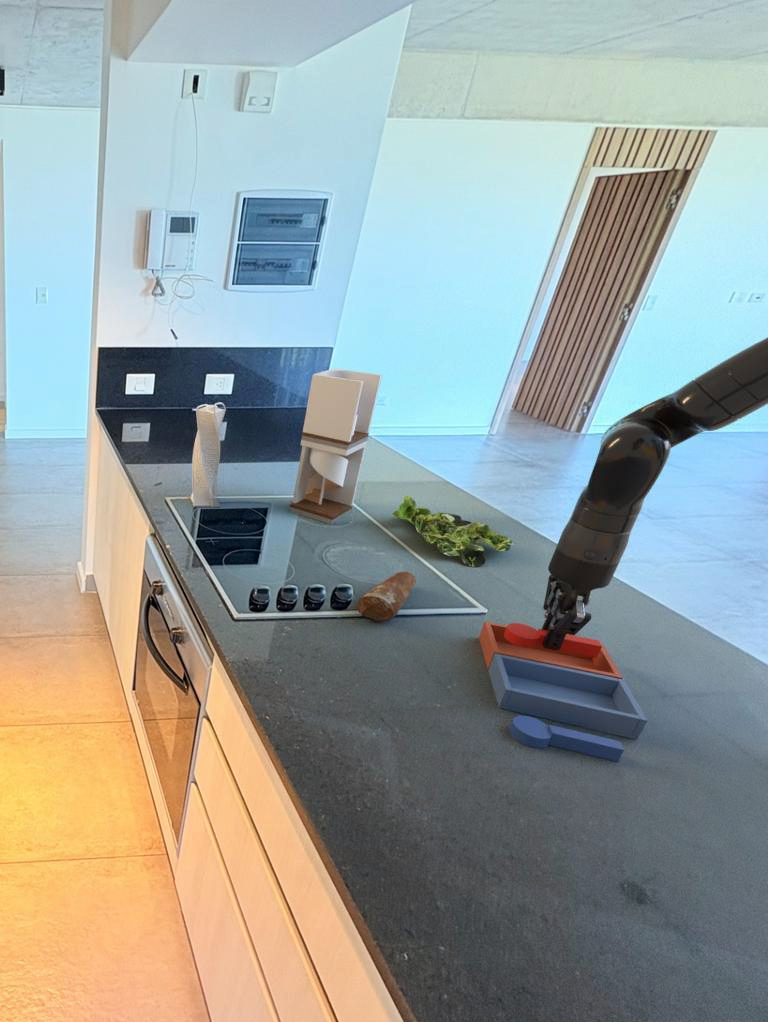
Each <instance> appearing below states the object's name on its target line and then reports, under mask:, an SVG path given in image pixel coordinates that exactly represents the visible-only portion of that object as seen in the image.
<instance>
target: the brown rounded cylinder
mask: <svg viewBox="0 0 768 1022" xmlns="http://www.w3.org/2000/svg"><path fill="white" fill-rule="evenodd" d="M416 583H417V579H416V577H415V575H414V574H413V573H411V572H409V571H399V572H397V573H395V574H394V575H392V576H390V577H388V578H387V579H385V580H384V581H382V582H381V583H379V584H378V585H376V586H375V587H373V588H372V589H370V590H369V591H368V592H366V593H365V594H364V595H362V597H360V599H359V600H358V601H357V605H356V606H357V611H358V613H359V614H360V615H361V616H362V617H366V618H369V619H372V620H374V621H377V622H388V621H391V620H392V619H393V618H395V617H396V615H398V613H399V611H400V610H401V608H402V607H403V606H404V604H405V602H406V600H407V599H408V597H409V595H410V594H411V592H412V591H413V588H414V587H415V585H416Z"/></svg>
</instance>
